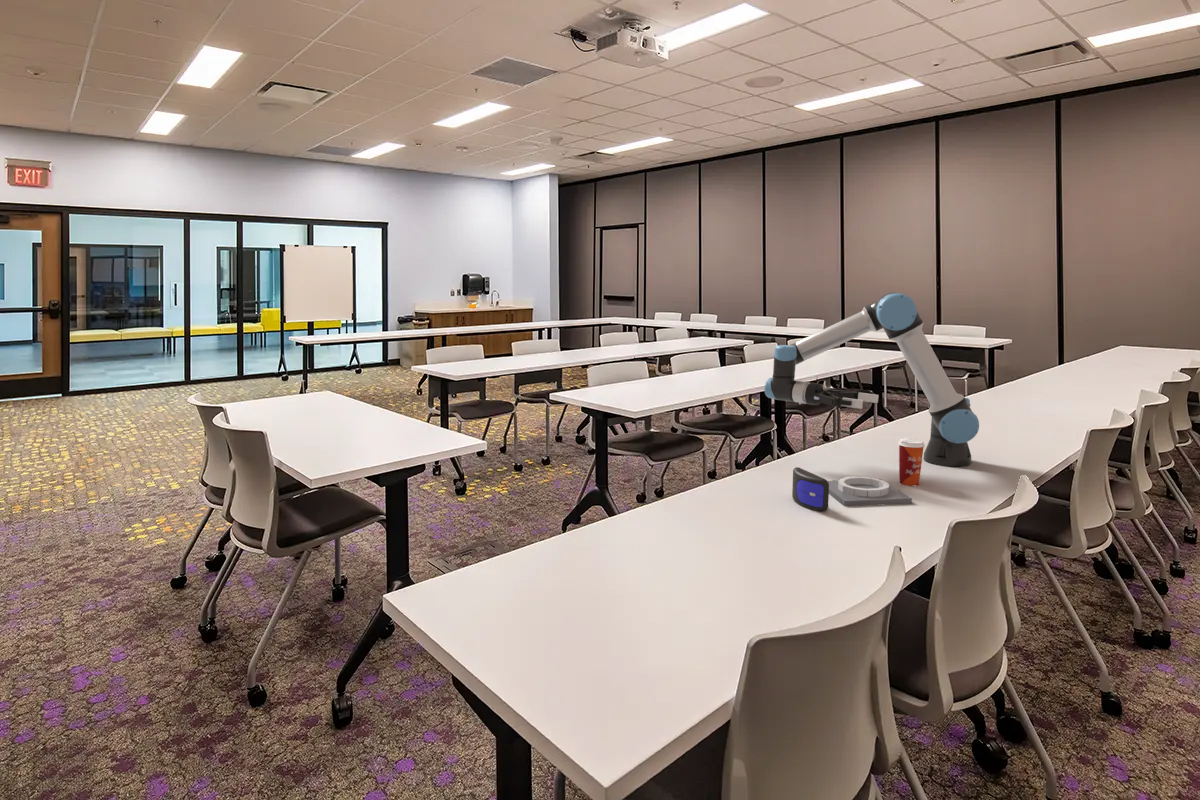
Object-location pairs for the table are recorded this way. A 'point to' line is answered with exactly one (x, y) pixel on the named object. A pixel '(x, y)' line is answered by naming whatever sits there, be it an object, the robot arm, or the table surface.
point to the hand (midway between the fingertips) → (870, 401)
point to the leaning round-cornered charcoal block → (810, 490)
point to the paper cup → (910, 460)
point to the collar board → (867, 500)
